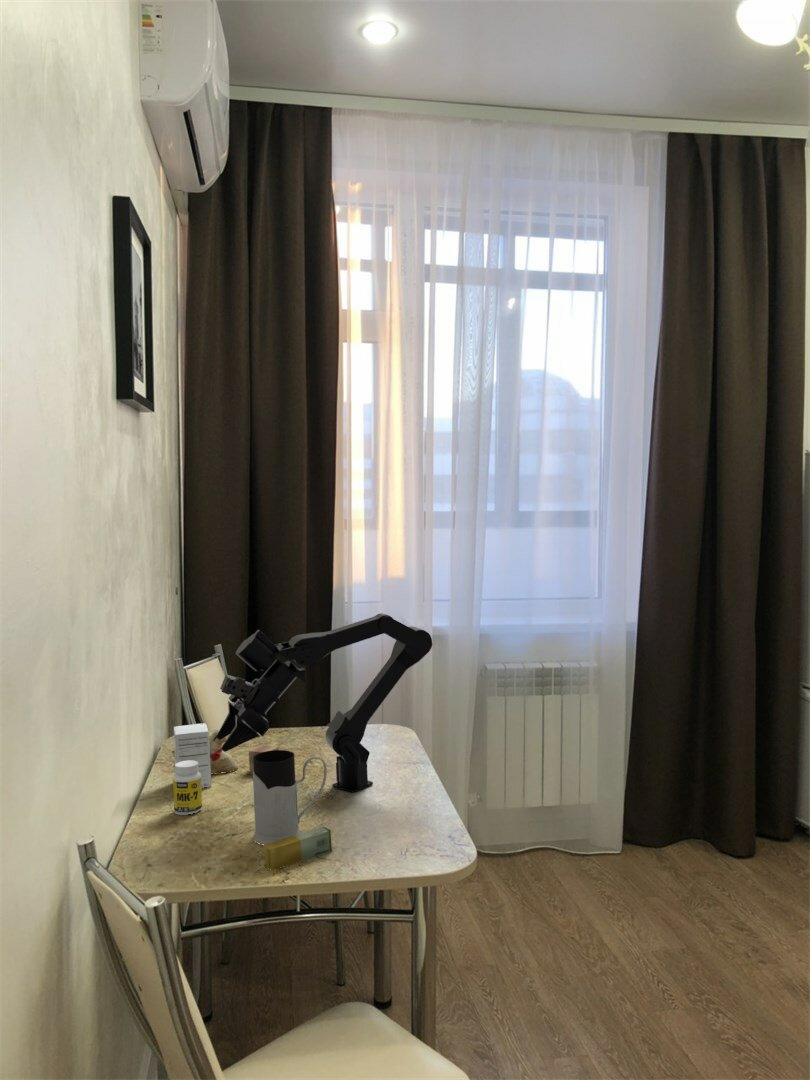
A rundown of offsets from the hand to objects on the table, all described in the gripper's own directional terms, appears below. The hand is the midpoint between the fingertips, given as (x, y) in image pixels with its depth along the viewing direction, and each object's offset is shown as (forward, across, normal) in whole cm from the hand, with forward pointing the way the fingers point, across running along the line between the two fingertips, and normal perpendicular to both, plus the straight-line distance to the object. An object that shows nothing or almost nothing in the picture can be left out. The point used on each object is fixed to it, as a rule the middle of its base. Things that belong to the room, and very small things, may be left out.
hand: (220, 744), depth 167 cm
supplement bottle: (+14, 0, +4) cm, 15 cm away
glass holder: (+2, +20, +16) cm, 26 cm away
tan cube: (+1, -20, +17) cm, 26 cm away
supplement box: (+12, -16, +6) cm, 21 cm away
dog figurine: (+8, -23, +10) cm, 27 cm away
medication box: (+3, +31, +16) cm, 35 cm away
